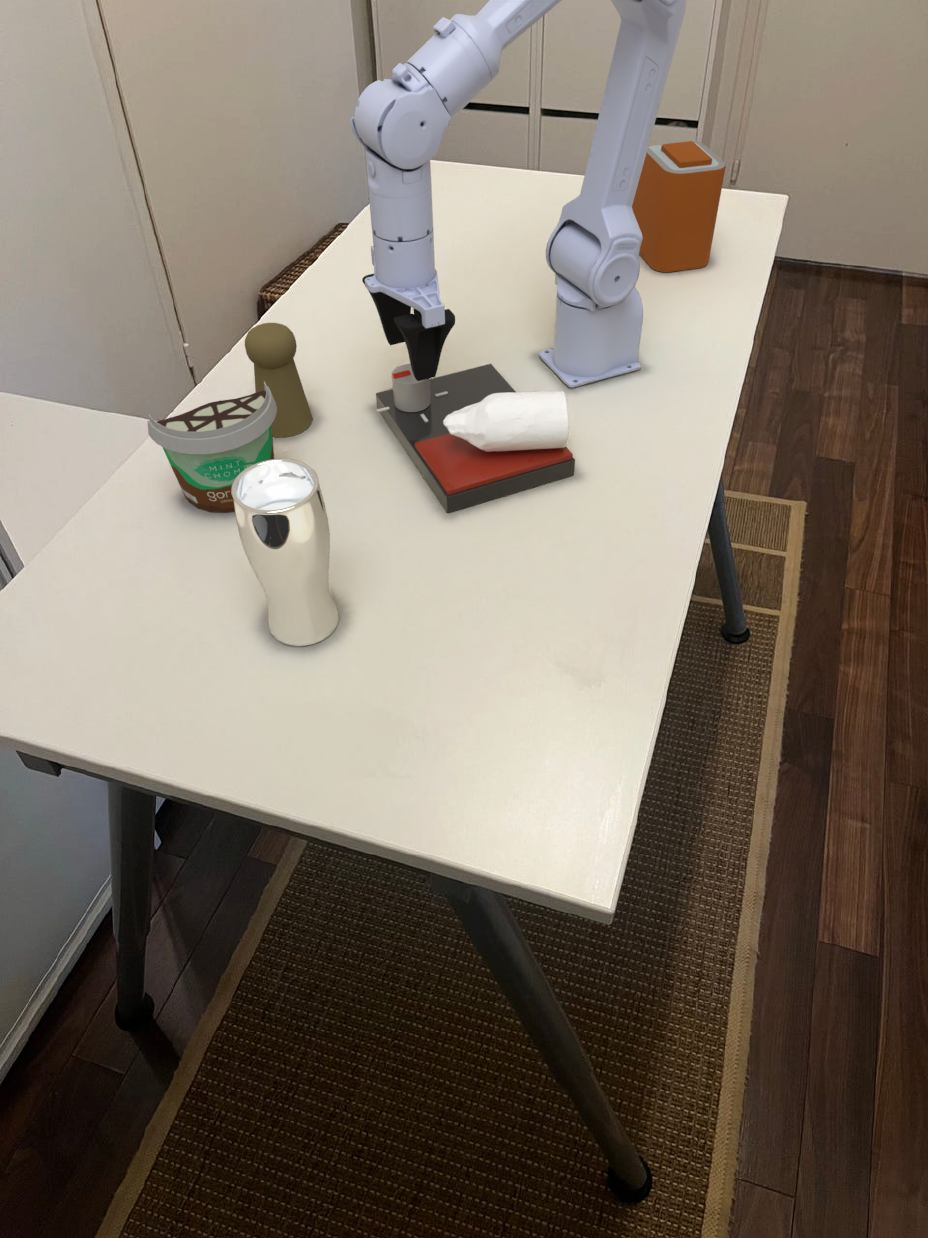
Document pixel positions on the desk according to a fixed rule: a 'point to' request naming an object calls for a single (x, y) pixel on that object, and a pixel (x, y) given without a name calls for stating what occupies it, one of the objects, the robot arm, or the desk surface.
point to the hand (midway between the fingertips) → (411, 359)
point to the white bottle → (513, 421)
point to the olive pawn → (279, 376)
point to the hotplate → (480, 462)
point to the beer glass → (288, 547)
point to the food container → (217, 446)
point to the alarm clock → (678, 205)
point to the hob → (428, 424)
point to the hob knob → (410, 390)
